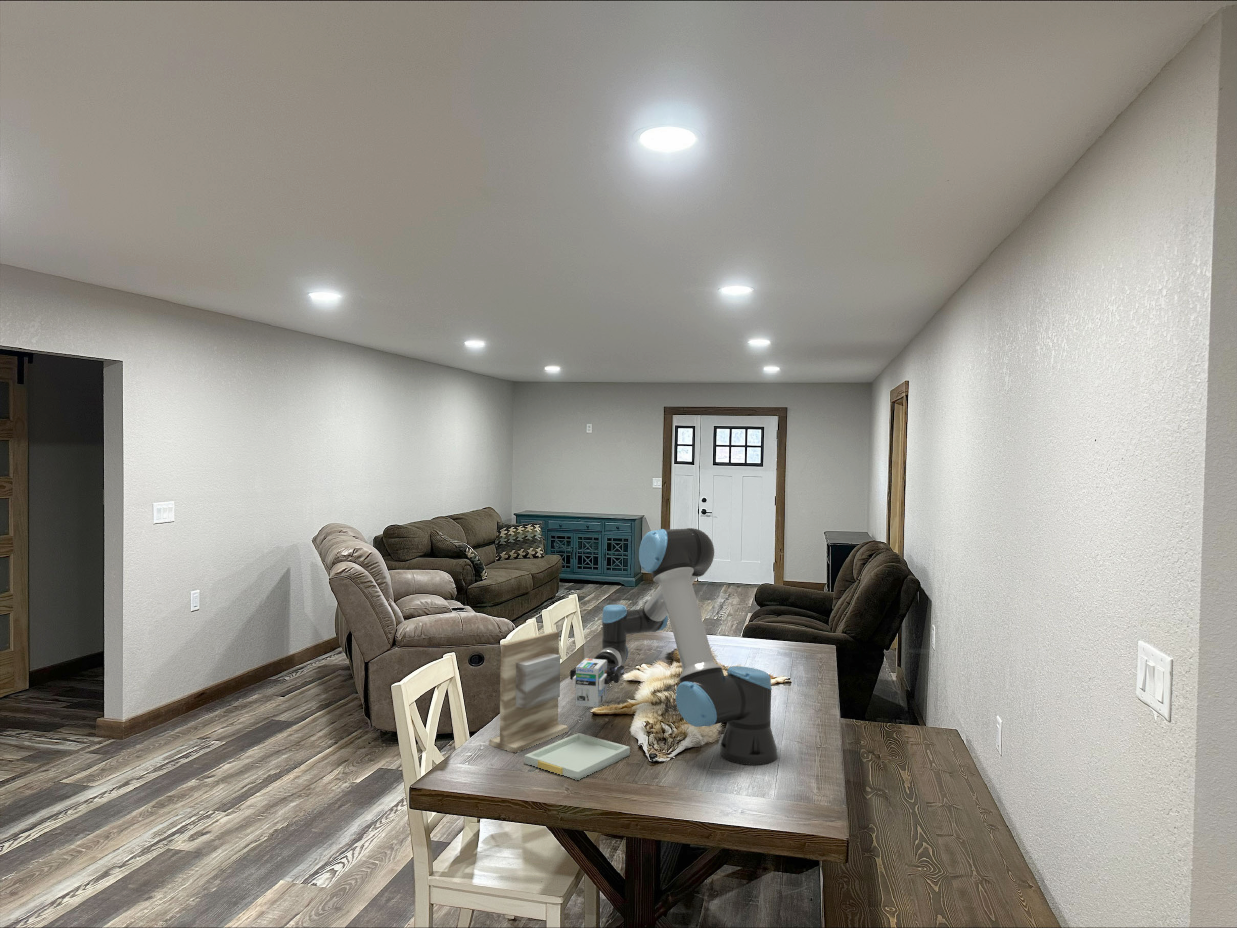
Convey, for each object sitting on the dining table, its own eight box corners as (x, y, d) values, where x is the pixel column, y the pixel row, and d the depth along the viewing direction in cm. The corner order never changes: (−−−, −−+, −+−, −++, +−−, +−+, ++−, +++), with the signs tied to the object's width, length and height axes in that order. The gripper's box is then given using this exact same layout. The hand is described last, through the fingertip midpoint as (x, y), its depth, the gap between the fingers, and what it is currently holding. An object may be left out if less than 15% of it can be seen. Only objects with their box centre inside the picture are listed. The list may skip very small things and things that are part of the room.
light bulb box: (598, 707, 220) (598, 668, 220) (574, 706, 221) (575, 666, 221) (607, 696, 230) (608, 659, 230) (584, 694, 232) (585, 657, 232)
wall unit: (568, 731, 235) (569, 633, 235) (515, 753, 217) (516, 647, 217) (542, 724, 241) (543, 629, 241) (489, 745, 223) (490, 642, 223)
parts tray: (629, 755, 217) (630, 746, 217) (576, 781, 199) (576, 772, 199) (578, 740, 227) (578, 732, 227) (523, 764, 209) (523, 755, 209)
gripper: (638, 677, 241) (621, 700, 219) (575, 673, 246) (552, 694, 223) (638, 652, 241) (622, 672, 219) (575, 648, 245) (552, 667, 223)
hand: (587, 683), depth 221 cm, fingers closed on light bulb box, 7 cm apart
